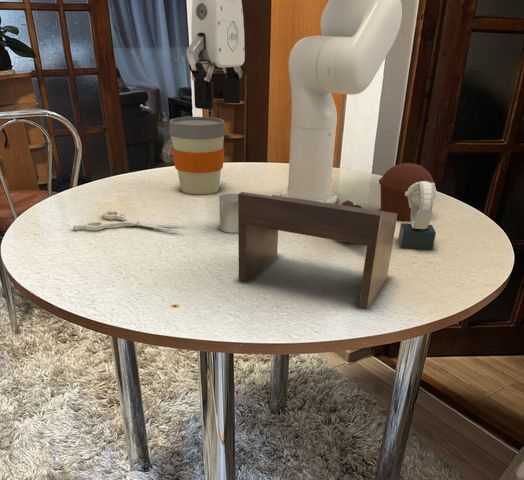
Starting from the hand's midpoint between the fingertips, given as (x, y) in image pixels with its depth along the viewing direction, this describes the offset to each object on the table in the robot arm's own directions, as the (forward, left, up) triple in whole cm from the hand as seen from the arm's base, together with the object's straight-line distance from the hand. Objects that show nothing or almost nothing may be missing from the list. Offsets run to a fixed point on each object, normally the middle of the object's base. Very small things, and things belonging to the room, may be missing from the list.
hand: (218, 105), depth 87 cm
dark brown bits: (-5, +24, -22) cm, 33 cm away
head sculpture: (-9, +35, -22) cm, 42 cm away
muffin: (-26, +29, -22) cm, 44 cm away
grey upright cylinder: (-1, +2, -21) cm, 21 cm away
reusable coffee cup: (-22, -18, -22) cm, 35 cm away
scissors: (+7, -15, -21) cm, 27 cm away
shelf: (+14, +24, -21) cm, 35 cm away
